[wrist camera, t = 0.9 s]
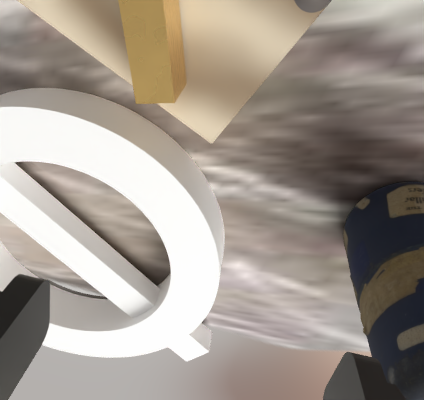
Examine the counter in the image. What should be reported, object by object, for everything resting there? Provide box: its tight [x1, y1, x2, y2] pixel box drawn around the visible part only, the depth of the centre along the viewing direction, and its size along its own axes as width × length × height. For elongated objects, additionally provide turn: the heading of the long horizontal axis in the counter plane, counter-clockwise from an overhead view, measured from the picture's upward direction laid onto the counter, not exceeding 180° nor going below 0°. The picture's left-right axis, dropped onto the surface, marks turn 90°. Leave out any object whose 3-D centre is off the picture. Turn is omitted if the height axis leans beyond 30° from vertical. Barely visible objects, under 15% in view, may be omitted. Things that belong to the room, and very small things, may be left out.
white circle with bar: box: [0, 88, 225, 361], centre depth 36 cm, size 28×28×5 cm
